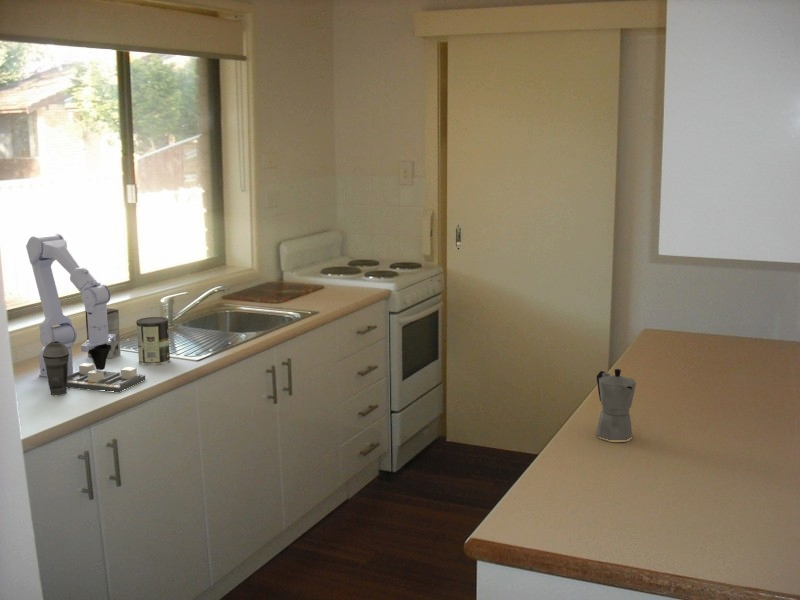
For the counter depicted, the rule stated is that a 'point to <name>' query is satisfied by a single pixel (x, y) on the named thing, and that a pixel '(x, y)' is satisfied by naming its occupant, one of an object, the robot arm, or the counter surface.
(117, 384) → the switch panel
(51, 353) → the beverage cup
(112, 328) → the coffee box
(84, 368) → the tab left
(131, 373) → the tab right
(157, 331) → the coffee can
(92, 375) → the tab middle
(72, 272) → the robot arm
